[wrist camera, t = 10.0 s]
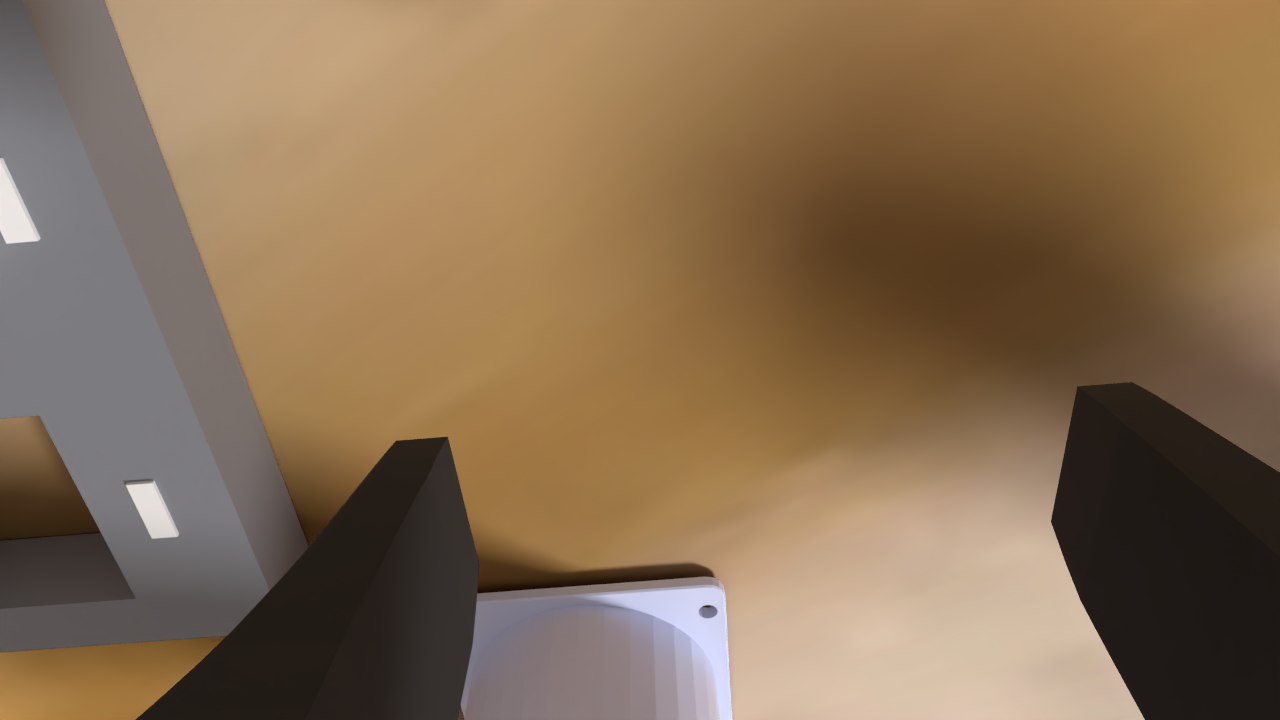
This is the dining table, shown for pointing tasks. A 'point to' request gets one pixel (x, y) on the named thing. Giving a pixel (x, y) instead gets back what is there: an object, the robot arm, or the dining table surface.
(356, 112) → the dining table surface
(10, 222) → the port panel
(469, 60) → the dining table surface
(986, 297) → the dining table surface
